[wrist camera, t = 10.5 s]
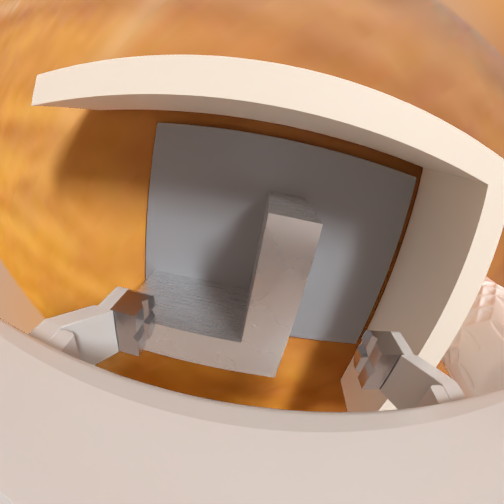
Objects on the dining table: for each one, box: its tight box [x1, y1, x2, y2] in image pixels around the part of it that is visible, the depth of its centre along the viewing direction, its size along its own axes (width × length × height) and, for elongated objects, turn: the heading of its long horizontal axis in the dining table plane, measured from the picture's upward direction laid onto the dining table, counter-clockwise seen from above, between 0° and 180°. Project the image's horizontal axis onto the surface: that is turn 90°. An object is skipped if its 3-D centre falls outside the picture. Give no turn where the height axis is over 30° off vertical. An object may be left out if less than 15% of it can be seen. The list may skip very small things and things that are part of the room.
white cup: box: [442, 276, 504, 398], centre depth 12 cm, size 8×8×10 cm
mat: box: [146, 123, 416, 344], centre depth 15 cm, size 12×15×1 cm
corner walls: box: [31, 55, 504, 412], centre depth 13 cm, size 18×22×6 cm
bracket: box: [138, 191, 323, 377], centre depth 13 cm, size 8×8×5 cm
